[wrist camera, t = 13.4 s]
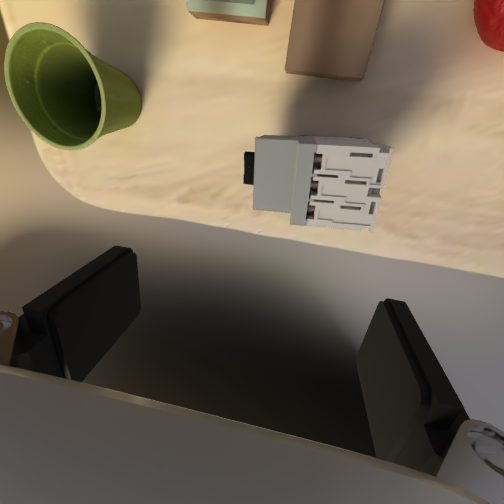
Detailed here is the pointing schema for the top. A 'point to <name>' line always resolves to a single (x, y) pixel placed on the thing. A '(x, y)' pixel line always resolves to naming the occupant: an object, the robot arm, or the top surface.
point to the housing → (237, 1)
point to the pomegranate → (490, 22)
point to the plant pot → (66, 88)
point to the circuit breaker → (318, 179)
